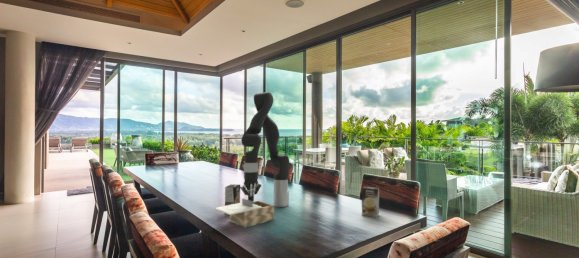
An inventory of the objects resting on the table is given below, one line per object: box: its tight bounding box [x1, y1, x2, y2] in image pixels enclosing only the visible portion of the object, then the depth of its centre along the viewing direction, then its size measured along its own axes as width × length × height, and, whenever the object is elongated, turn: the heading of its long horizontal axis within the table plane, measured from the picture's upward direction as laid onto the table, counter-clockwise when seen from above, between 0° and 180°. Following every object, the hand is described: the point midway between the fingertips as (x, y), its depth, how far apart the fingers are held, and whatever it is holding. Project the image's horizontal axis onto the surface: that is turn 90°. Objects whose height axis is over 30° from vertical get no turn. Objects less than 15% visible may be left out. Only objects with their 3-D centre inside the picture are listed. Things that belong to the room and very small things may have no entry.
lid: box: [214, 197, 262, 216], centre depth 155 cm, size 20×15×4 cm
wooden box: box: [229, 200, 275, 228], centre depth 161 cm, size 19×14×8 cm
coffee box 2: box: [361, 185, 380, 218], centre depth 173 cm, size 9×6×16 cm
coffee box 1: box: [224, 184, 241, 216], centre depth 175 cm, size 9×6×16 cm
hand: (250, 202), depth 160 cm, fingers closed
